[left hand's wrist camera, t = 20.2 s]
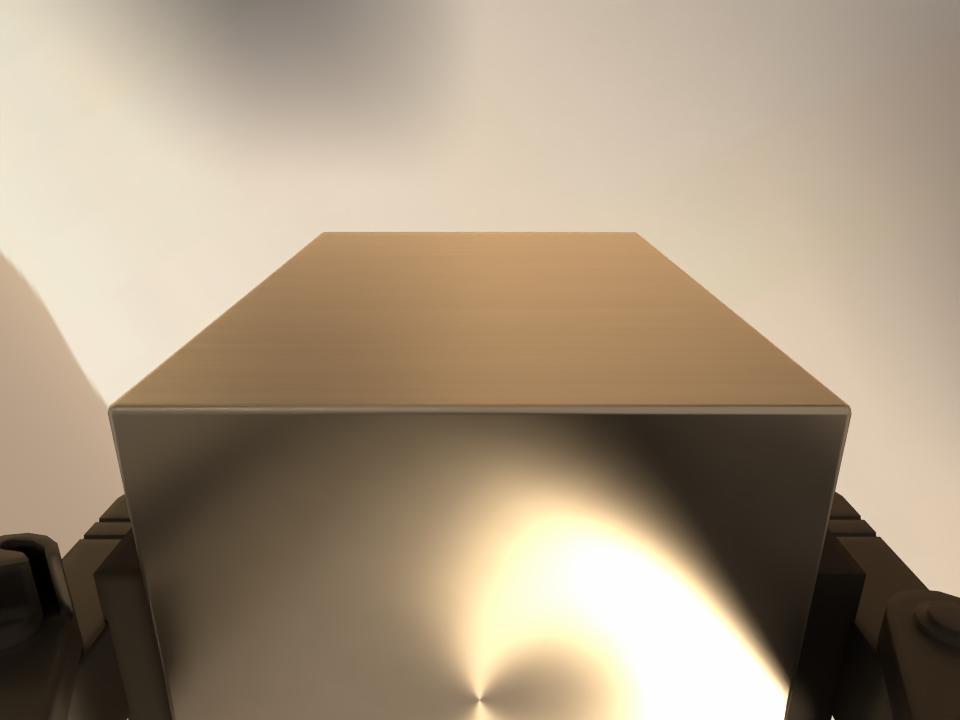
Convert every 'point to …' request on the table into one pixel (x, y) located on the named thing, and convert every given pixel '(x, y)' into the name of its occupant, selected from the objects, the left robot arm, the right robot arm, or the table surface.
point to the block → (479, 489)
